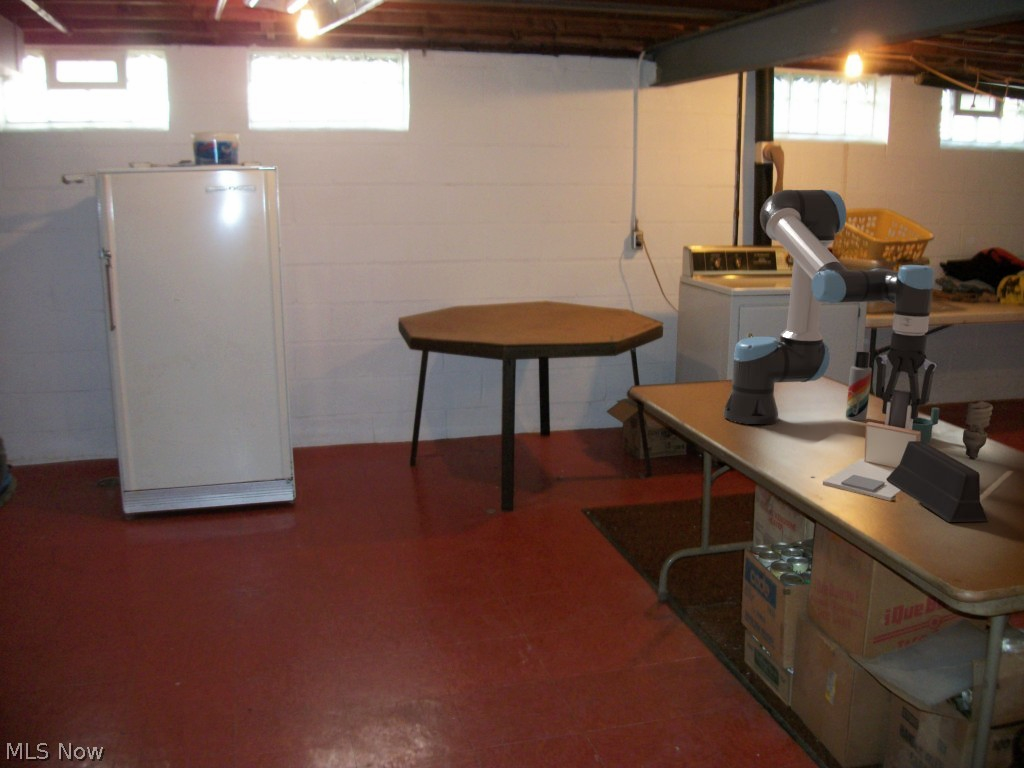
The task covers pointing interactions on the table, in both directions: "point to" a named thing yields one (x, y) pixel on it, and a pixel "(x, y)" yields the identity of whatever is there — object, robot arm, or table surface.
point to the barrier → (939, 483)
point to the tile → (887, 443)
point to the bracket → (926, 425)
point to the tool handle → (899, 408)
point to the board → (865, 480)
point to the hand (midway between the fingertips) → (898, 429)
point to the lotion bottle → (859, 387)
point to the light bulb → (976, 427)
